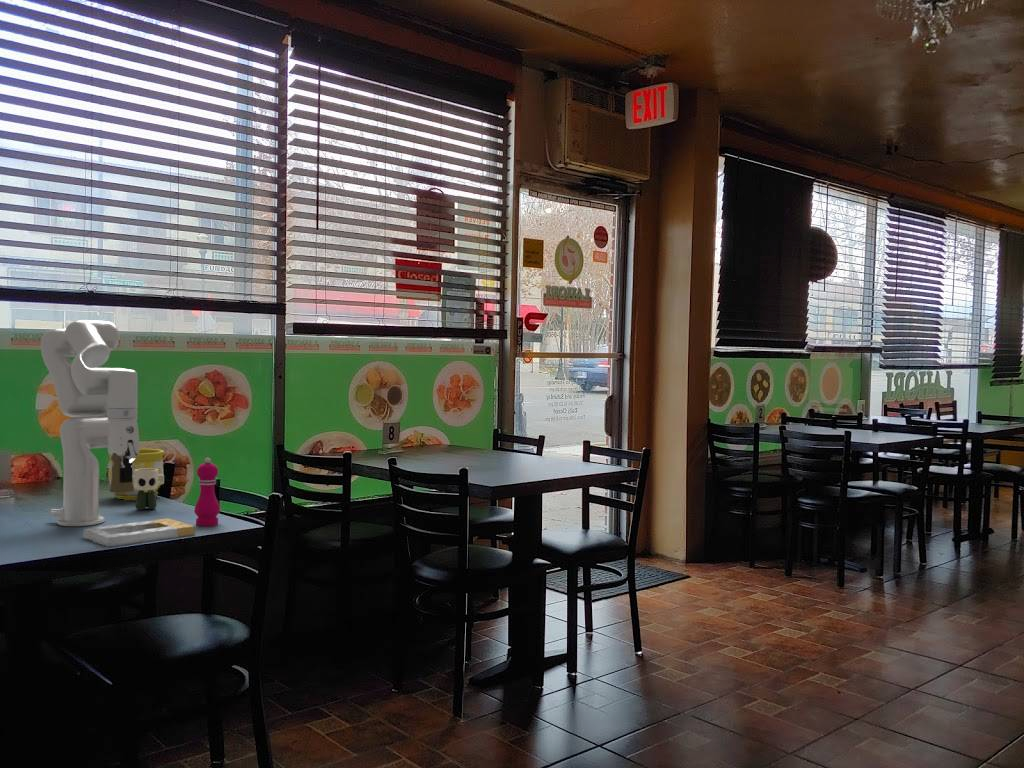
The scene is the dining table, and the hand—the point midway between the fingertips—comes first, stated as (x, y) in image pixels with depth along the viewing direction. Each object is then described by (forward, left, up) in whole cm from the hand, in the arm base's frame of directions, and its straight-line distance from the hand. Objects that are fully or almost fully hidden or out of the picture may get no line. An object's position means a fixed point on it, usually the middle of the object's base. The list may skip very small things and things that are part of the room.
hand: (122, 480), depth 241 cm
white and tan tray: (+3, +4, -16) cm, 17 cm away
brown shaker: (0, 0, -3) cm, 3 cm away
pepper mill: (+16, +22, -16) cm, 32 cm away
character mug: (-11, +46, -16) cm, 49 cm away
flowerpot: (-23, +69, -16) cm, 74 cm away
